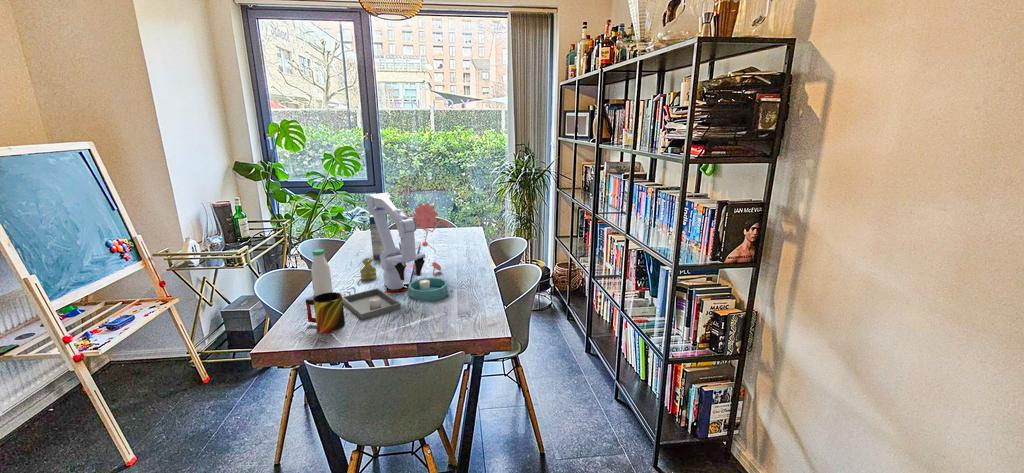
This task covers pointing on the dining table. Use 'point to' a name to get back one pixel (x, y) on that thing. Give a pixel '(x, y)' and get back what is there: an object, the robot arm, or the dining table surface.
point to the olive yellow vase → (368, 270)
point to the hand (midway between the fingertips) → (410, 277)
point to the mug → (327, 312)
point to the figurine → (426, 217)
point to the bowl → (436, 290)
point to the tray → (362, 307)
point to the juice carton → (375, 239)
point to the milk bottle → (320, 274)
